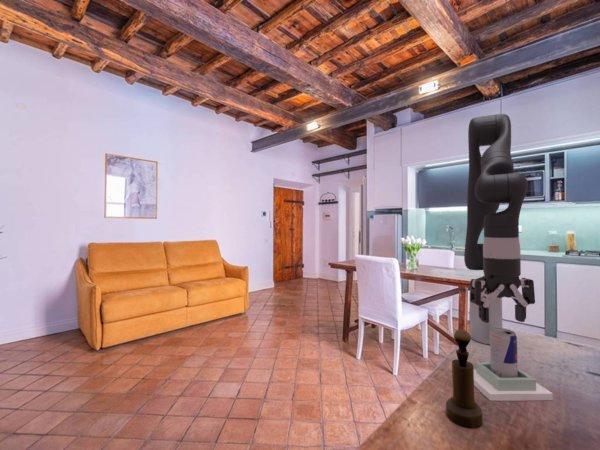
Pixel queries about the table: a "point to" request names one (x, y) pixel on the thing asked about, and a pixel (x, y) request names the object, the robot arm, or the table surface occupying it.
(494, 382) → the baseplate
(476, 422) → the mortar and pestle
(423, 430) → the table surface
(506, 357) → the energy drink
